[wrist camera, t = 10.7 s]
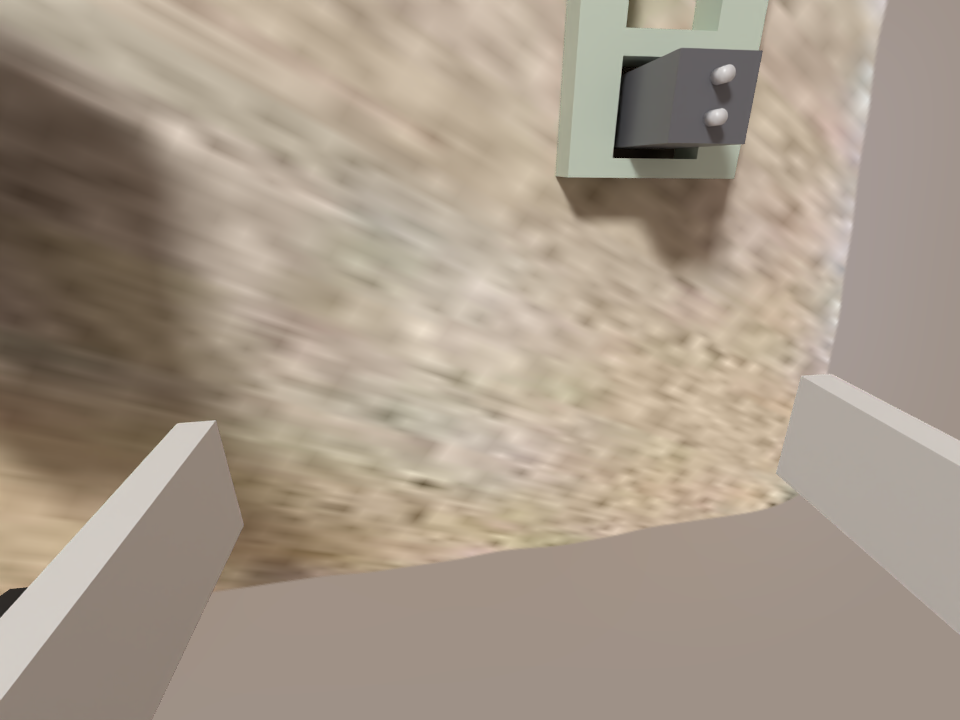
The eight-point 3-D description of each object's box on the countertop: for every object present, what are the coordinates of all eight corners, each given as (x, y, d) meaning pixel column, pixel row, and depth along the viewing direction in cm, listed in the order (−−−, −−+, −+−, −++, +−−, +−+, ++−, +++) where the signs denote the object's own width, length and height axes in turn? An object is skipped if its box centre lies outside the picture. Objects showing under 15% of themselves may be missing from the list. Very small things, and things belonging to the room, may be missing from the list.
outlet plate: (555, 176, 36) (567, 177, 33) (573, -97, 30) (590, -128, 27) (707, 177, 38) (733, 178, 34) (753, -86, 32) (790, -114, 28)
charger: (606, 148, 36) (676, 141, 26) (613, 79, 34) (690, 43, 24) (664, 149, 36) (755, 143, 26) (674, 80, 35) (775, 46, 25)
